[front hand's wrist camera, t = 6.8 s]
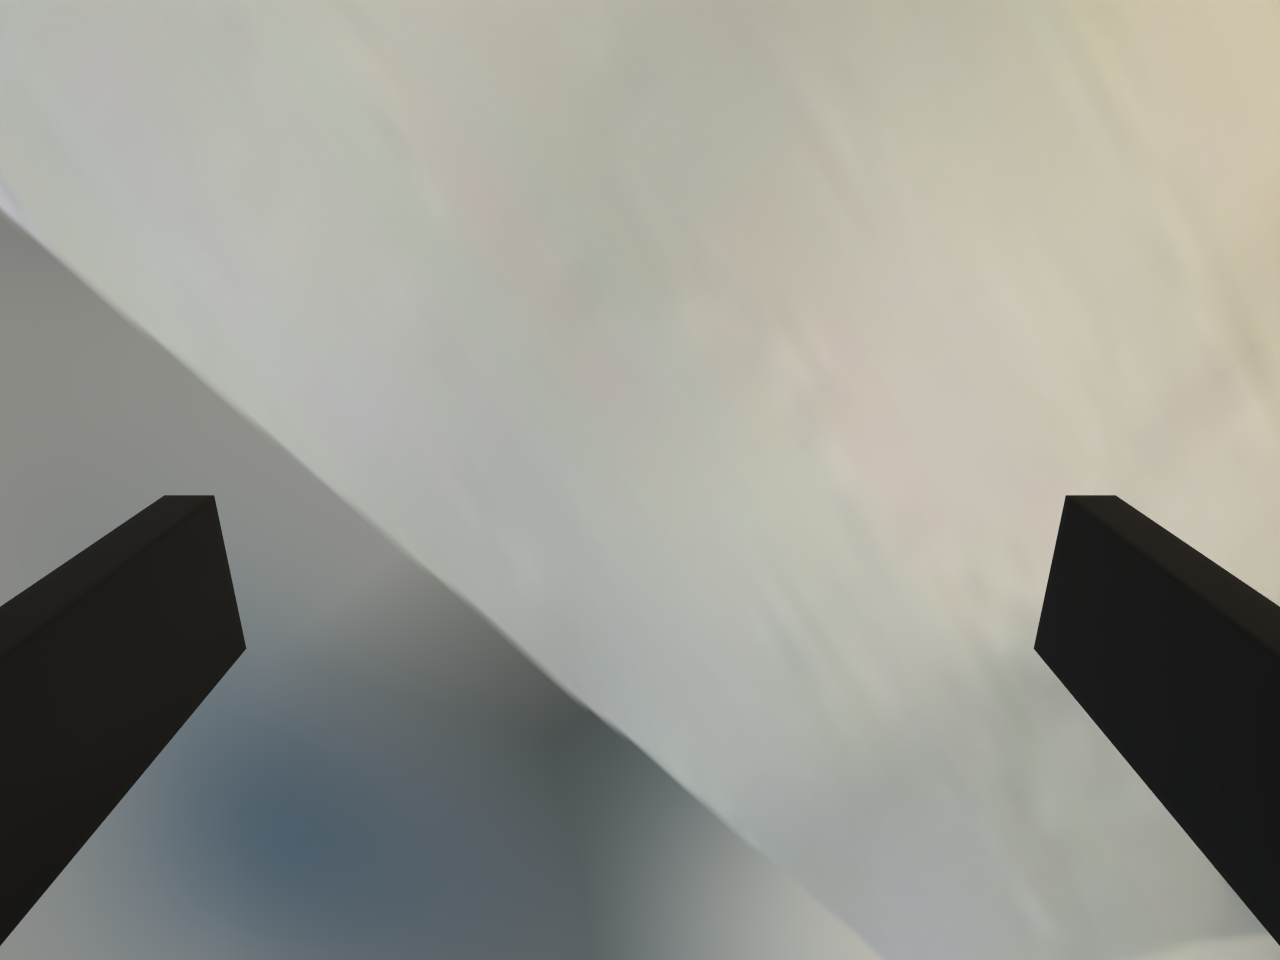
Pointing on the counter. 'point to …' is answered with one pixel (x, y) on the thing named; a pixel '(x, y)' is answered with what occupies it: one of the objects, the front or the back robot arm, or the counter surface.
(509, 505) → the counter surface
